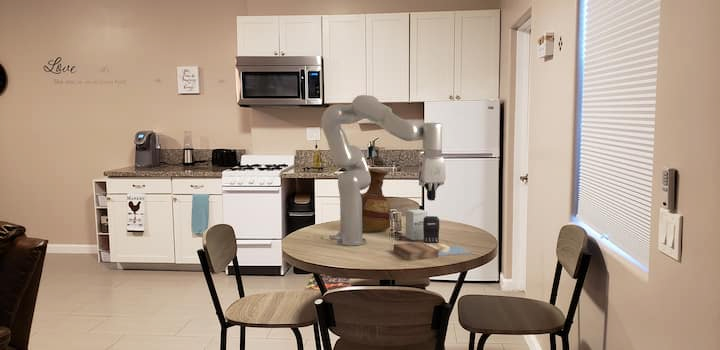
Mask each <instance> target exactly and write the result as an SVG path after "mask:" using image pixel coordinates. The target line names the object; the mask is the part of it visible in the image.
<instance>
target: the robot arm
mask: <svg viewBox="0 0 720 350" xmlns="http://www.w3.org/2000/svg"><path fill="white" fill-rule="evenodd" d="M365 119H366V120H368V121H370V122H371V123H374V124H375V125H378V126H379V127H381V128H382V129H383V130H384V131H385V132H387V133H389V134H391V135H392V136H394V137H396V138H398V139H400V140H402V141H406V142H413V141H414V142H415V141H422V149H421V151H419V155H420V156H422V157H420V160H419V161H420V162H419V166H418V186H420V187H424V189H425V190H426V199H427V200H428V201H430V202H431V201H436V195H437V193H436V191H437V189H438V188H439V187H440V186H442V185H443V186H444V185H445V181H446V164H445V158H444V157H442V154H443V151H442V150H443V149H442V148H443V125H442V123H440V122H421V121H408V120H405V119H404V118H402V117H400V116H398V115H396V114H394V113H393V109H392V108H391V107H390V106H388V105H385V104H384V103H382V102H380V101H379V99H378V98H377V97H376V96H373V95H366V94H361V95H357V96H356V97H354V99H353V100H352V102H351V103H350V104H341V103H339V104H338V103H337V104H332V105H330V106H328V107H327V108H326V109H325V110H324V112H323V114H322V116H321V128H322V131H323V134H324V136H325V139H326V141H327V145H328V148H329V151H330V154H331V156H332V161H333V164H335V167H337V168H339V169H348V170H345V171H343V172H342V173H341V174H340V175H339V177H338V179H337V188H338V194H339V211H340V213H339V216H340V220H339V221H340V222H339V223H340V229H339V230H340V231H338V232H337V233H336V234H329V240H330V241H331V240H332V241H333V240H334V241H336V243H337V244H338V245H339V246H340V245H341V246H348V247H352V246H353V247H354V246H356V247H357V246H362V245H364V244H366V243H367V240H366V238H363V231H362V198H361V194H362V193H361V191H362V190H366V189H367V188H369V185H370V182H371V176H370V172H369V169H370V168H369V166H368V164H367V161H366V158H365V154H364V153H363V151H362V149H361V148H359V147H358V146H356V145H351V144H350V143H349V140H348V137H347V135H346V131H344V129H343V128H342V126H341V125H351V124H355V123H357V122H360V121H363V120H365ZM368 168H369V169H368ZM360 193H361V194H360Z"/></svg>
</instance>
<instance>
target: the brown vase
mask: <svg viewBox="0 0 720 350" xmlns="http://www.w3.org/2000/svg"><path fill="white" fill-rule="evenodd" d="M368 169H369V172H370V176H371V182H370V185H369V186H368V187H367V188H368V189H367V191H366V192H364V193H361V192H360V194H361V198H362V232H363V233H364V232H367V233H368V232H371V233H374V232H382V231H385V230H388V229H390V228H391V225H390V219H389V211H390V210H391V211H392V209H391V205H390V203H389V200H388V199H387V197H386V196H385V195H384V194H383V190H382V188H383V185H384V179H385V177H386V176H387V174H389V171H387V170H382V169H378V168H369V167H368Z"/></svg>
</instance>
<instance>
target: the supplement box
mask: <svg viewBox="0 0 720 350" xmlns="http://www.w3.org/2000/svg"><path fill="white" fill-rule="evenodd" d="M425 216H428V211H427V210H424V209H420V208H419V209H418V208H417V209H406V210H405V238H406V239H409V240H411V241H416V240H417V241H418V240H423V219H424V217H425Z"/></svg>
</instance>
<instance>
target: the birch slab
mask: <svg viewBox="0 0 720 350" xmlns="http://www.w3.org/2000/svg"><path fill="white" fill-rule="evenodd" d="M427 245H428V246H431V247H433V248H435V249H438V253H444V252H450V247H449V246H450V245H446V244H443V243H436V244H427Z"/></svg>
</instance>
